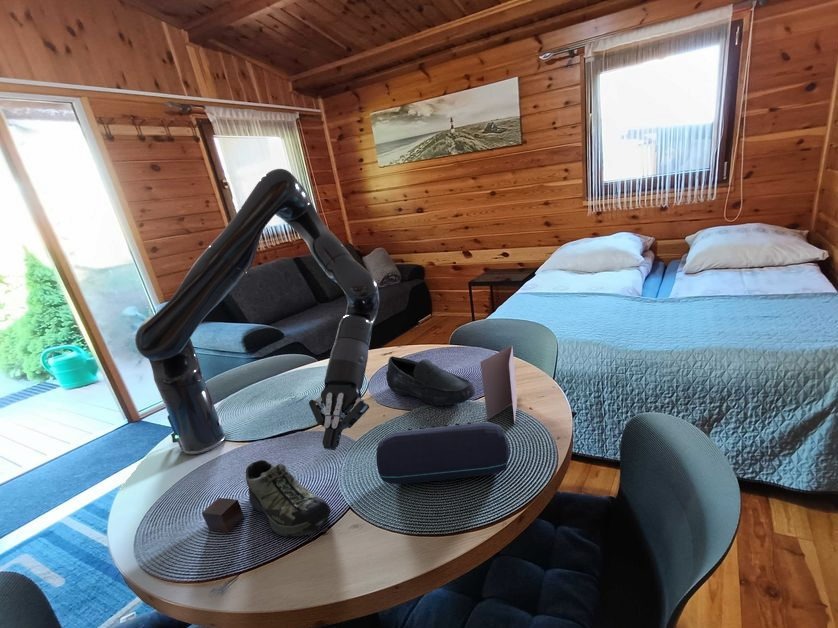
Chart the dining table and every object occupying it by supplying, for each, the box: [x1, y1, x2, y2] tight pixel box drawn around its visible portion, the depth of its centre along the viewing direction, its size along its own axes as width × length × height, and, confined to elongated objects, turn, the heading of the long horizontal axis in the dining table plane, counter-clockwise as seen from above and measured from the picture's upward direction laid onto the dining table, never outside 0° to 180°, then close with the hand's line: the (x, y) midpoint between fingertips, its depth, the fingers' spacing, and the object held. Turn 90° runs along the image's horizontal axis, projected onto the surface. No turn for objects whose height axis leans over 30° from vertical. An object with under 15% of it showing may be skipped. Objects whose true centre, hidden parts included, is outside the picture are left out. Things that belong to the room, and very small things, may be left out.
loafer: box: [385, 355, 476, 406], centre depth 116 cm, size 10×29×10 cm, turn 58°
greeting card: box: [479, 345, 518, 425], centre depth 101 cm, size 11×7×15 cm, turn 136°
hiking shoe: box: [245, 459, 332, 538], centre depth 78 cm, size 8×21×9 cm, turn 56°
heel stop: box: [201, 497, 245, 533], centre depth 78 cm, size 4×4×4 cm
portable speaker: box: [375, 421, 510, 485], centre depth 83 cm, size 25×10×10 cm, turn 90°
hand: (329, 449), depth 83 cm, fingers closed
